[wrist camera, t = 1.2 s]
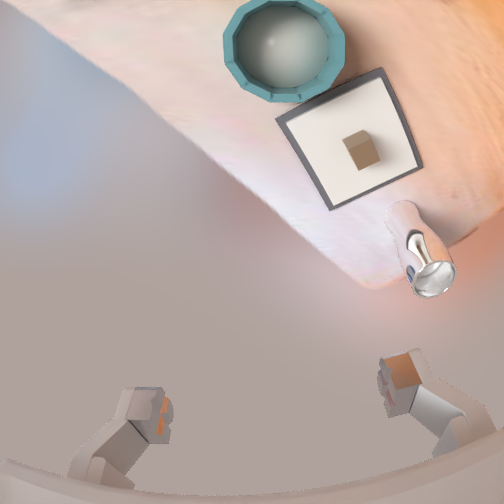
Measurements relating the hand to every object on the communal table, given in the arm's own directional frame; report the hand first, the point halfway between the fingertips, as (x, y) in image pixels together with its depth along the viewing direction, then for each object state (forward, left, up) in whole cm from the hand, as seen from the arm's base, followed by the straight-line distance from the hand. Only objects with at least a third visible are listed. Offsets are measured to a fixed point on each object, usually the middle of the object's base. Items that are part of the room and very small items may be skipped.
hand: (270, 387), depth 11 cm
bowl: (-6, -8, -36) cm, 38 cm away
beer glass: (-10, +23, -37) cm, 44 cm away
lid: (-8, +8, -36) cm, 38 cm away
